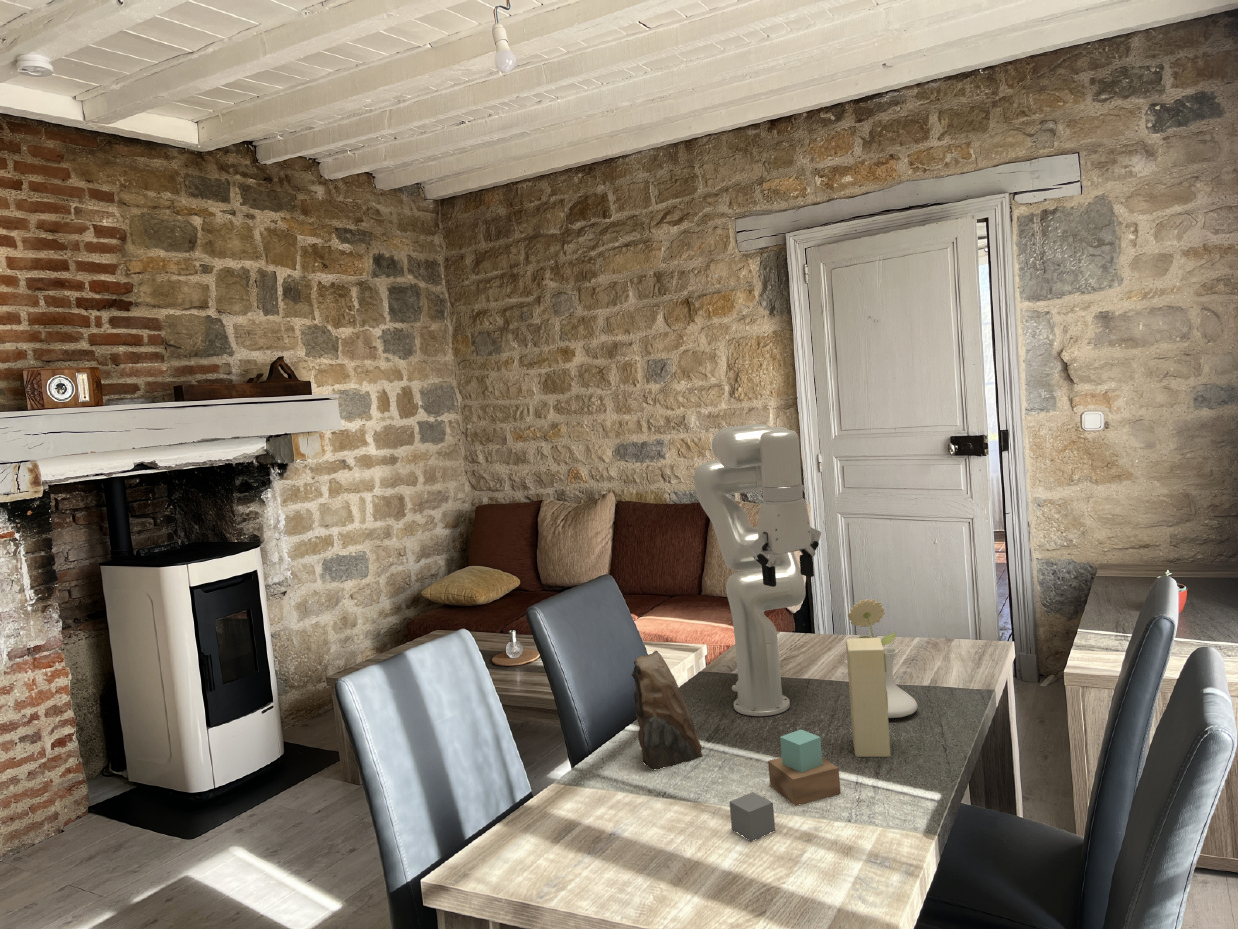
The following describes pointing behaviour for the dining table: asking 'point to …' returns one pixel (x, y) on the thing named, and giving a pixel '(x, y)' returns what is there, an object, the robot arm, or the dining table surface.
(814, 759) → the teal cube
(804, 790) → the walnut block
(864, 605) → the flower in vase
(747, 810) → the grey cube
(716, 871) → the dining table surface
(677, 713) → the brown rock
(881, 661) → the tall cream block
